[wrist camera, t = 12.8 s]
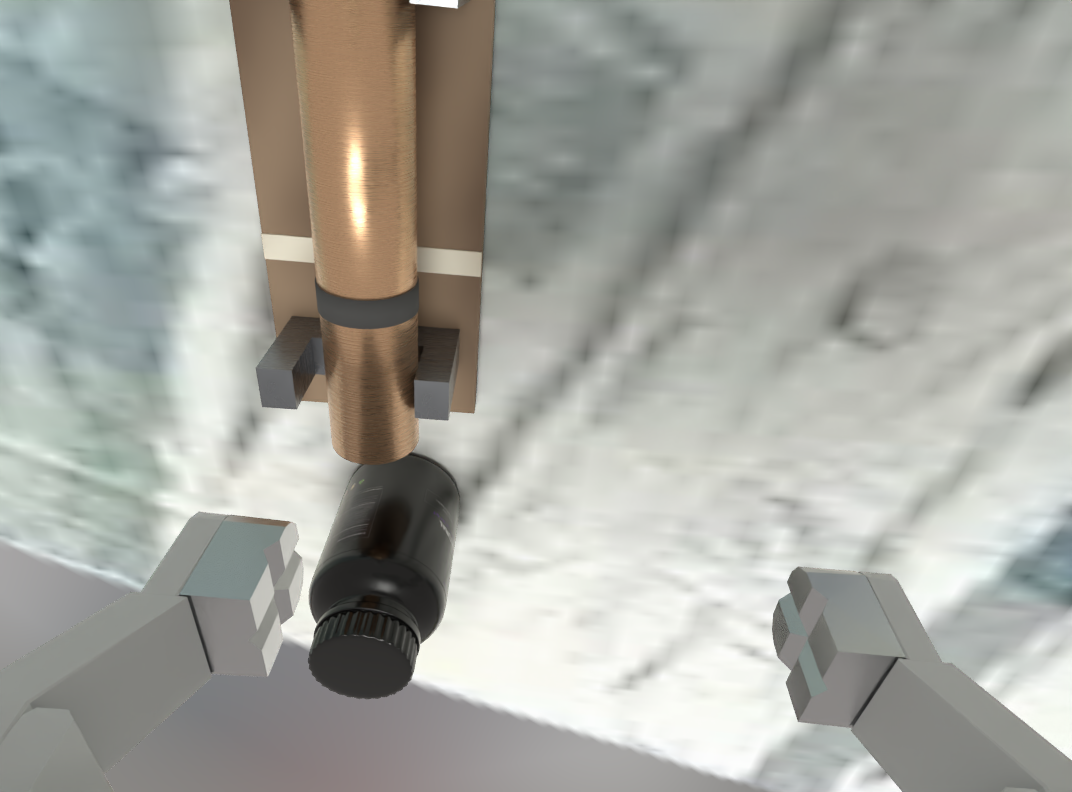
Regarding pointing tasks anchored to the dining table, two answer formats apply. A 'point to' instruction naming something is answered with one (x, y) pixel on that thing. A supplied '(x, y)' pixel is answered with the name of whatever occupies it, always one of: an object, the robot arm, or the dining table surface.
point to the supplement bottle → (383, 577)
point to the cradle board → (441, 155)
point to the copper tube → (363, 214)
